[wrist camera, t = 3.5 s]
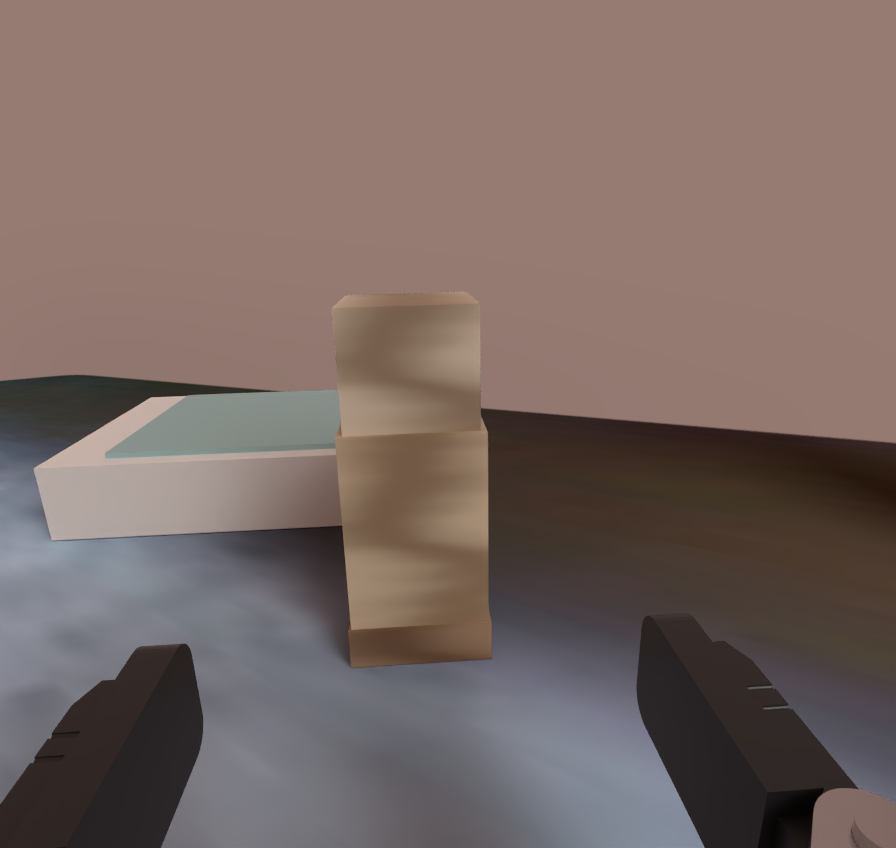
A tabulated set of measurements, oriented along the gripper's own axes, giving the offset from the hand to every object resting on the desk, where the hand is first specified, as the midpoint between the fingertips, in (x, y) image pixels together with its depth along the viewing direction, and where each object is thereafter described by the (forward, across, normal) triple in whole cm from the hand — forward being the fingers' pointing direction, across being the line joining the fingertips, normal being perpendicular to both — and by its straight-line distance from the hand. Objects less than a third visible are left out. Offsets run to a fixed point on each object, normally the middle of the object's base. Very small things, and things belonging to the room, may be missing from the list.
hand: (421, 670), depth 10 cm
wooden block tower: (+11, 0, +7) cm, 13 cm away
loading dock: (+27, +10, +7) cm, 29 cm away
